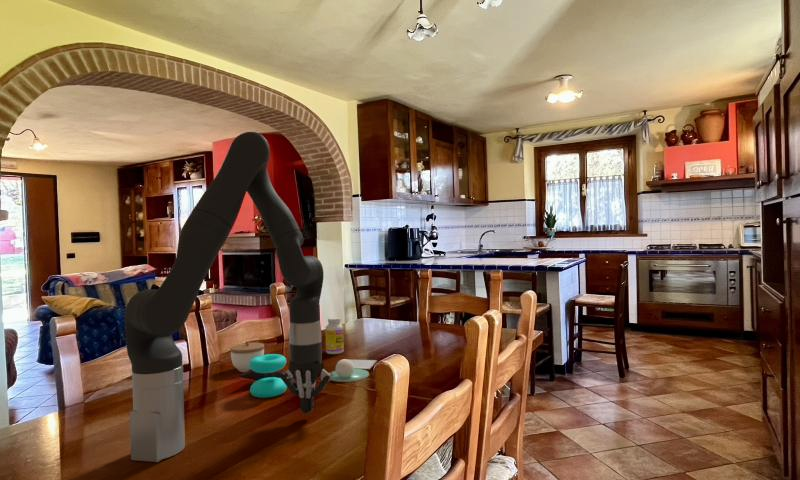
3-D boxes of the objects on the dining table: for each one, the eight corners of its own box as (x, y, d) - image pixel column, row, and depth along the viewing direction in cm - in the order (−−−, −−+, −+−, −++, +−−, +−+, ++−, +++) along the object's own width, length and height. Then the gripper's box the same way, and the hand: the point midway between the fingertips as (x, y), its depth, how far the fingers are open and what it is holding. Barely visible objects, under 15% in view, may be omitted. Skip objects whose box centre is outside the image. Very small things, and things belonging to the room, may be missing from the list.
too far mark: (369, 369, 150) (369, 368, 150) (339, 368, 152) (339, 367, 152) (376, 360, 160) (376, 360, 160) (348, 360, 161) (348, 359, 161)
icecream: (248, 370, 130) (292, 362, 141) (235, 359, 135) (279, 353, 146) (244, 393, 131) (288, 384, 142) (231, 381, 136) (275, 373, 147)
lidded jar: (236, 376, 146) (235, 346, 146) (226, 369, 155) (226, 341, 155) (269, 369, 152) (268, 341, 152) (258, 363, 161) (257, 336, 161)
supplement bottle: (336, 355, 168) (335, 320, 168) (322, 353, 172) (321, 319, 172) (347, 351, 174) (346, 317, 174) (333, 349, 177) (332, 316, 177)
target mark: (362, 382, 136) (362, 382, 136) (320, 381, 139) (320, 380, 139) (373, 369, 149) (373, 369, 149) (335, 368, 151) (335, 368, 151)
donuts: (241, 359, 128) (270, 351, 136) (242, 395, 128) (271, 385, 136) (265, 364, 122) (293, 355, 131) (266, 401, 123) (294, 390, 131)
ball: (353, 382, 140) (350, 369, 137) (335, 381, 141) (332, 368, 138) (356, 368, 145) (354, 355, 142) (339, 368, 146) (336, 355, 143)
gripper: (272, 343, 108) (274, 417, 108) (326, 344, 105) (328, 420, 105) (286, 336, 115) (288, 405, 115) (336, 336, 113) (338, 407, 113)
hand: (307, 412), depth 110 cm, fingers closed
